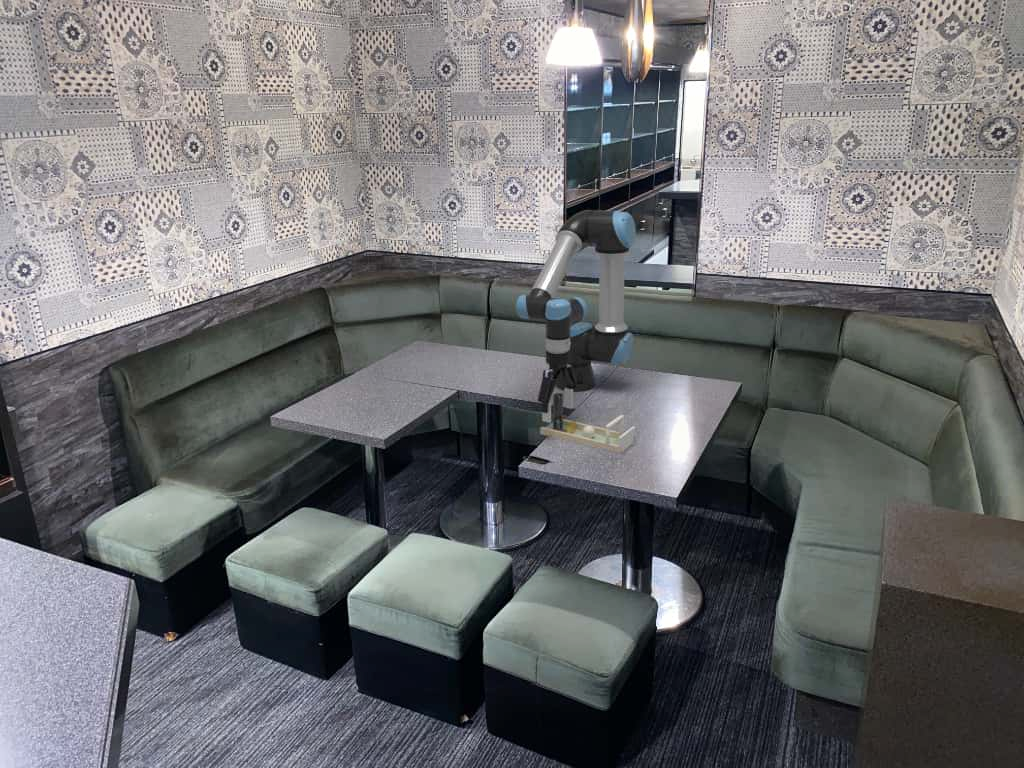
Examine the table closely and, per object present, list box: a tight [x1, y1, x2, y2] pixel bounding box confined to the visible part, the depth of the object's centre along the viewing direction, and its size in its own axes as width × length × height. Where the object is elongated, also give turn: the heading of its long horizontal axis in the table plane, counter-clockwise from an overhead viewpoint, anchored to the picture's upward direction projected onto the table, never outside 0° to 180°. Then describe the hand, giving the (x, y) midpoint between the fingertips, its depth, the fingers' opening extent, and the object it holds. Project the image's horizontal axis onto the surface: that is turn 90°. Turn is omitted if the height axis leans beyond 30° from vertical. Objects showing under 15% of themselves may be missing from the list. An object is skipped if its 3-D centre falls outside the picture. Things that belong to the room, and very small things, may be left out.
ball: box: [582, 425, 595, 438], centre depth 242 cm, size 4×4×4 cm
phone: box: [522, 453, 551, 465], centre depth 236 cm, size 8×1×15 cm
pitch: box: [539, 414, 636, 454], centre depth 242 cm, size 28×10×9 cm, turn 56°
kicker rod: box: [545, 392, 577, 434], centre depth 246 cm, size 8×7×12 cm
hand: (557, 414), depth 247 cm, fingers open, 13 cm apart
